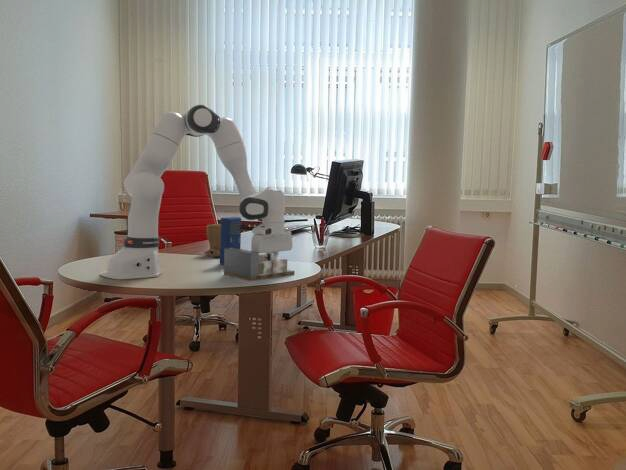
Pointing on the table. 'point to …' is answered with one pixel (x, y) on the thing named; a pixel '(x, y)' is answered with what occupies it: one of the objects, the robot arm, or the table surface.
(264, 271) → the gauge base
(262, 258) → the plunger
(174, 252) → the table surface
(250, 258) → the grey rectangular block
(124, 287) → the table surface
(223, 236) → the electronic device
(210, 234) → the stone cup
